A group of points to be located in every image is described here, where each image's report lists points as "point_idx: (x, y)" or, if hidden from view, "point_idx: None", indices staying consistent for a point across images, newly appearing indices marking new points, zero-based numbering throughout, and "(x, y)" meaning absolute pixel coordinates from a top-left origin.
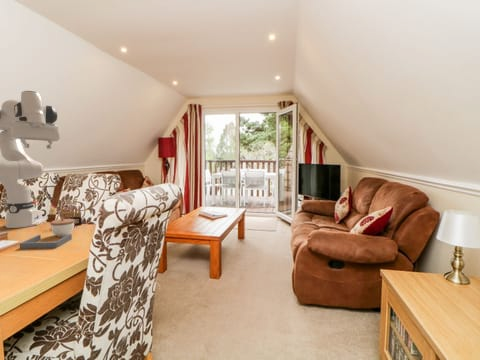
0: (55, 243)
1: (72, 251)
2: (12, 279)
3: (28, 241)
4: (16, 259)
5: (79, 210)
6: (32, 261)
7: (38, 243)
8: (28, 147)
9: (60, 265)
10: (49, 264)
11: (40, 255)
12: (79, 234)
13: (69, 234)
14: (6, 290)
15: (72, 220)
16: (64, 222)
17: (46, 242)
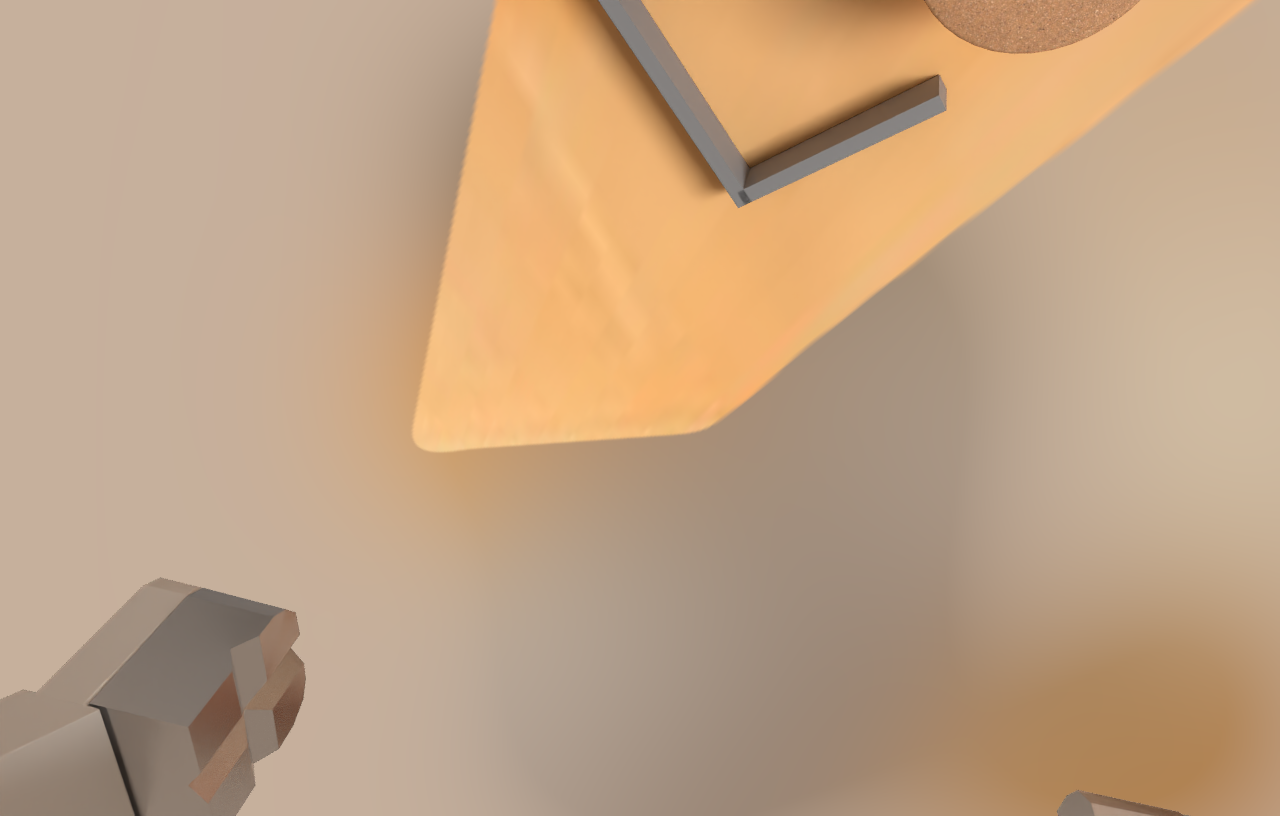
0: (735, 198)
1: (748, 316)
2: (448, 366)
3: None
4: (517, 171)
5: None
6: (558, 269)
7: (670, 104)
8: (279, 667)
9: (611, 403)
10: (589, 361)
11: (619, 225)
12: None
13: (932, 101)
14: (419, 417)
15: (1094, 24)
16: (980, 36)
17: (704, 146)
